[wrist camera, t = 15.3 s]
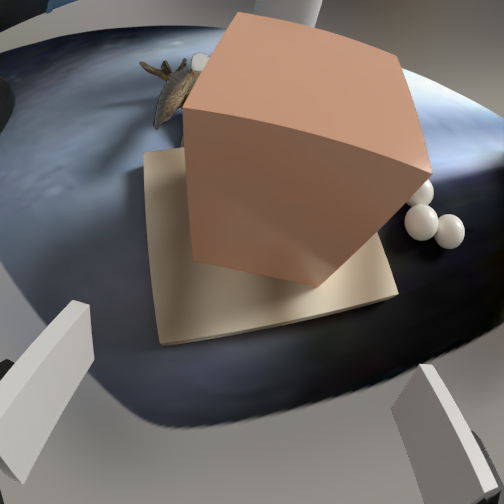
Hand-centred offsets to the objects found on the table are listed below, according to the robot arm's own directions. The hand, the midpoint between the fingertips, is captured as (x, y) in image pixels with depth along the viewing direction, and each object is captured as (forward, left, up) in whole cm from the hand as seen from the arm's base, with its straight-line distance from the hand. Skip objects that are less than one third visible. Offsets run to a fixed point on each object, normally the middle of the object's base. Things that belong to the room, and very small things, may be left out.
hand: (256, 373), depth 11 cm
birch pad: (+4, +10, -8) cm, 13 cm away
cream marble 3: (+20, +7, -8) cm, 22 cm away
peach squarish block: (+4, +10, -6) cm, 12 cm away
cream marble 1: (+18, +11, -8) cm, 22 cm away
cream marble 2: (+17, +8, -8) cm, 20 cm away
